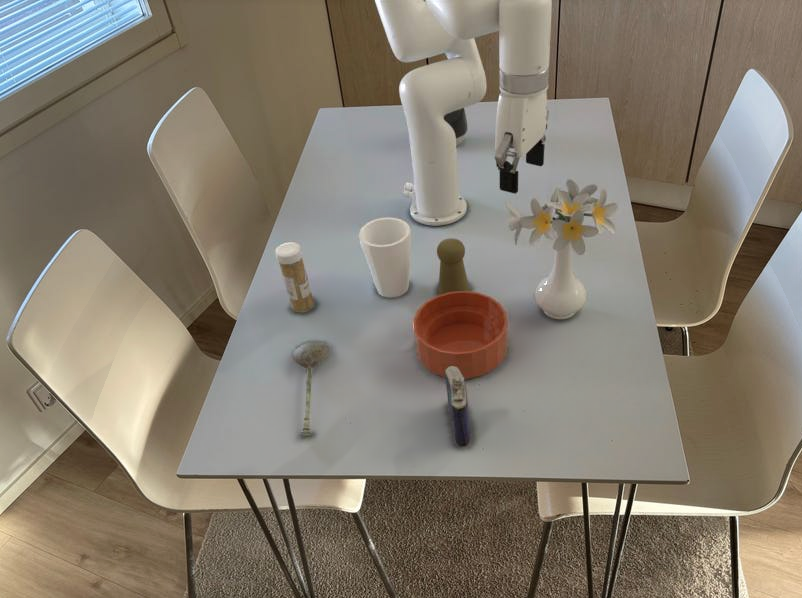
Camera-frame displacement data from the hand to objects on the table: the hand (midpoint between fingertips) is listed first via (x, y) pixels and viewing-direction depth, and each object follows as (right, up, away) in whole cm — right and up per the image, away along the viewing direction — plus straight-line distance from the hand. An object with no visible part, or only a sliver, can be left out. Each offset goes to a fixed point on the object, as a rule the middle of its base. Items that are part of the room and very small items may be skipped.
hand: (522, 177), depth 118 cm
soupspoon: (-36, -36, 0) cm, 51 cm away
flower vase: (+7, -22, +10) cm, 25 cm away
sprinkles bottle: (-41, -21, +15) cm, 48 cm away
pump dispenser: (-13, +24, +58) cm, 64 cm away
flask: (-11, -42, -8) cm, 44 cm away
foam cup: (-23, -17, +18) cm, 34 cm away
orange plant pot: (-10, -29, +4) cm, 31 cm away
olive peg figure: (-12, -18, +16) cm, 26 cm away
